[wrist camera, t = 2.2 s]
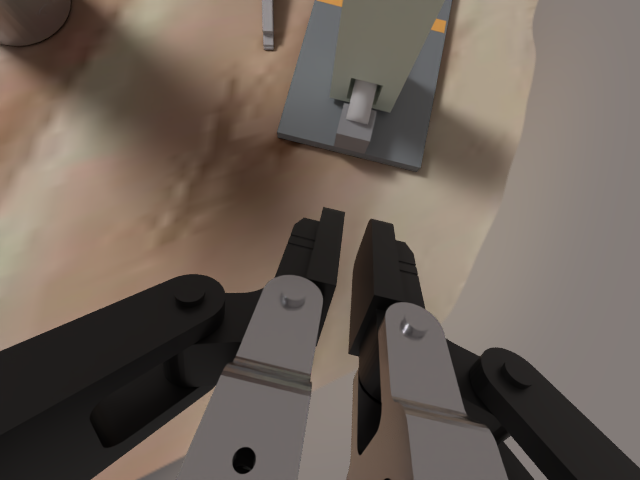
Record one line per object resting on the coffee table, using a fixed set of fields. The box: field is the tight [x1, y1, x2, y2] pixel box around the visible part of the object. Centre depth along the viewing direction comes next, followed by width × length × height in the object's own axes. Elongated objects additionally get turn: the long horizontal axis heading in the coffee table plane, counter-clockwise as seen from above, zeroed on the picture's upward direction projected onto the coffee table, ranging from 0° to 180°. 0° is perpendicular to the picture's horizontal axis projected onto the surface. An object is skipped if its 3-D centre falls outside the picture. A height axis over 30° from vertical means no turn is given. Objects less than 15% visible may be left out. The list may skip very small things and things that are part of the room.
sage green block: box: [330, 0, 445, 113], centre depth 24 cm, size 6×5×12 cm
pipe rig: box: [277, 0, 452, 172], centre depth 30 cm, size 14×24×4 cm, turn 167°
